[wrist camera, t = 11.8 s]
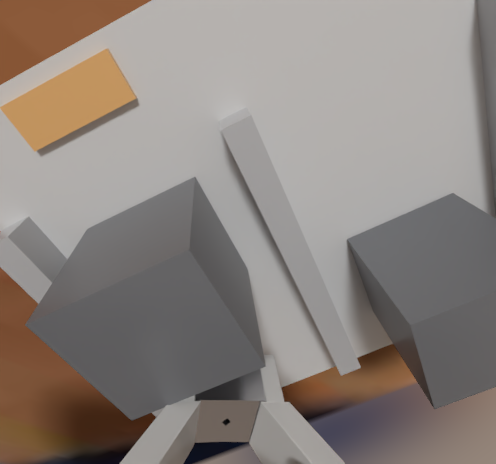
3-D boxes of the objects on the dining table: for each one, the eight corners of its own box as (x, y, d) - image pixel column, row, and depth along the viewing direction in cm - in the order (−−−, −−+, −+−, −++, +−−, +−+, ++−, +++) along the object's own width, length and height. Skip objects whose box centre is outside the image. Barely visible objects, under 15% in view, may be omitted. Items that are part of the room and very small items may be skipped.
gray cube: (153, 310, 12) (131, 420, 8) (87, 228, 10) (25, 325, 7) (247, 268, 11) (266, 366, 8) (195, 176, 10) (189, 249, 6)
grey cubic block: (373, 311, 13) (434, 409, 10) (347, 239, 11) (410, 325, 8) (465, 274, 13) (565, 361, 9) (452, 193, 11) (569, 261, 7)
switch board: (189, 394, 16) (186, 452, 14) (-52, 124, 10) (-133, 149, 7) (665, 201, 14) (759, 232, 12) (774, -334, 7) (1042, -513, 5)
